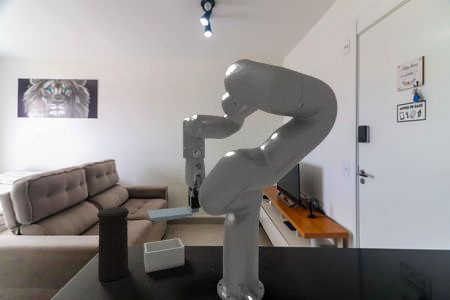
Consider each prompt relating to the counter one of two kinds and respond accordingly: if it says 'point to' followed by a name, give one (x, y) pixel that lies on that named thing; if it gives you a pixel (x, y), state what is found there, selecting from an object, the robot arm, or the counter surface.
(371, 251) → the counter surface
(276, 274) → the counter surface
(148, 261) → the tub
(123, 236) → the container
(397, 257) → the counter surface
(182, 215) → the lid
